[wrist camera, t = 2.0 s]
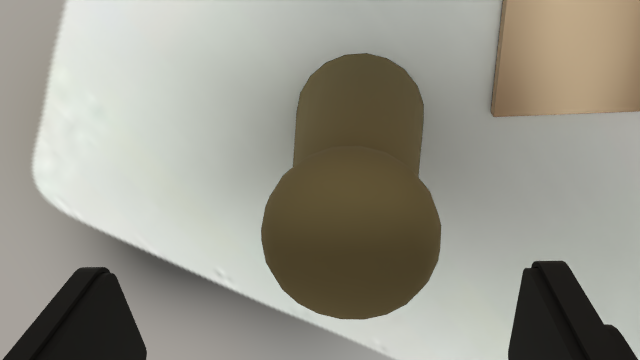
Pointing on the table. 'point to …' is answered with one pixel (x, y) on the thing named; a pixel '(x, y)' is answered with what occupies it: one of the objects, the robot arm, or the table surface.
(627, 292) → the table surface
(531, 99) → the wooden board
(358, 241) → the pepper shaker
